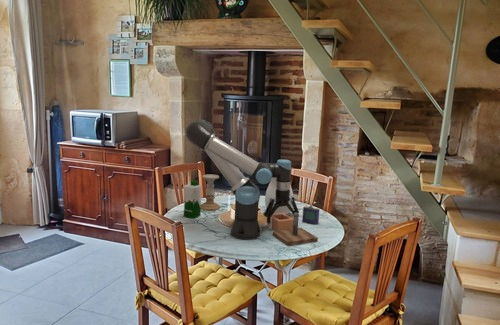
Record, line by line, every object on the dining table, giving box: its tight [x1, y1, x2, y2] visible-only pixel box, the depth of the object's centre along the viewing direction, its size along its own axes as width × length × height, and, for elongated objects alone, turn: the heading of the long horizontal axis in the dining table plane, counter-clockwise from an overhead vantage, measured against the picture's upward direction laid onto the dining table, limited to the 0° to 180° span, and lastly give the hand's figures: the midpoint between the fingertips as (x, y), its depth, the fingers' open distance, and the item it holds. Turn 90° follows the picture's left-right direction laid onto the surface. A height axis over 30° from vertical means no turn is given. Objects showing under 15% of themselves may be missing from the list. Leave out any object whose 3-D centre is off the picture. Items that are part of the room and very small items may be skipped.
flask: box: [301, 204, 320, 226], centre depth 210 cm, size 9×3×11 cm, turn 68°
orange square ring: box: [266, 213, 293, 231], centre depth 201 cm, size 10×12×6 cm
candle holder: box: [201, 173, 221, 212], centre depth 229 cm, size 12×12×20 cm
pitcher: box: [264, 178, 294, 215], centre depth 227 cm, size 24×17×28 cm
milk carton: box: [182, 180, 202, 220], centre depth 212 cm, size 9×9×20 cm
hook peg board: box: [272, 212, 319, 247], centre depth 186 cm, size 17×15×13 cm
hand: (280, 227), depth 202 cm, fingers open, 13 cm apart
